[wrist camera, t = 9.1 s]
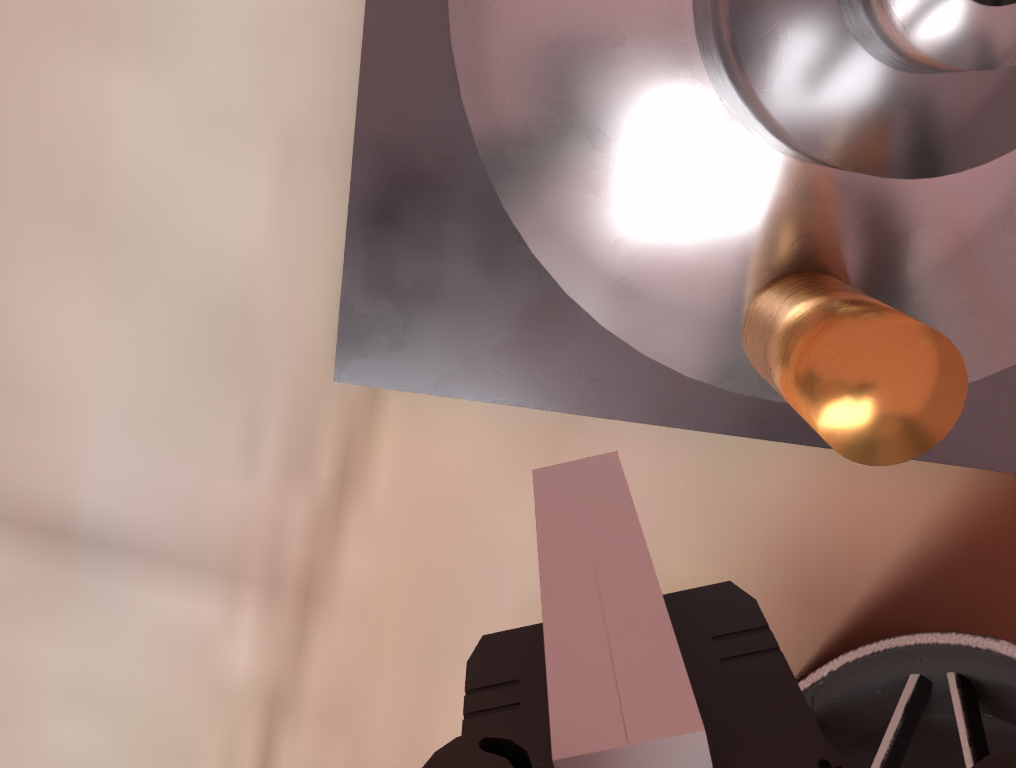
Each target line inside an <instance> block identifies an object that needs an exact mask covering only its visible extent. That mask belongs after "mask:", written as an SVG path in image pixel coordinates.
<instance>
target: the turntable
mask: <svg viewBox="0 0 1016 768" xmlns="http://www.w3.org/2000/svg"><path fill="white" fill-rule="evenodd" d="M448 6H449V22H450V37H451V45H452V50H453V55H454V61H455V66H456V71H457V77H458V82H459V87H460V93H461V98H462V102H463V105H464V108H465V112H466V115H467V118H468V121H469V124H470V127H471V130H472V134H473V137H474V140H475V143H476V146H477V149H478V152H479V155H480V158H481V160H482V162H483V164H484V167H485V169H486V171H487V173H488V175H489V177H490V180H491V182H492V184H493V186H494V188H495V190H496V192H497V195H498V197H499V199H500V201H501V203H502V205H503V207H504V209H505V211H506V212H507V214H508V215H509V217H510V219H511V220H512V222H513V223H514V225H515V226H516V228H517V230H518V231H519V233H520V234H521V236H522V237H523V239H524V241H525V242H526V244H527V245H528V247H529V248H530V250H531V252H532V253H533V254H534V256H535V257H536V258H537V259H538V260H539V261H540V263H541V264H542V265H543V266H544V267H545V269H546V270H547V271H548V272H549V273H550V275H551V276H552V277H553V278H554V279H555V281H556V282H557V283H558V284H559V285H560V287H561V288H562V289H563V290H564V291H565V292H566V293H567V294H568V295H569V296H570V297H571V298H572V299H573V300H574V301H575V302H576V303H578V304H579V305H580V306H581V307H582V308H583V309H584V310H585V311H586V312H587V313H589V314H590V315H591V316H592V317H593V318H594V319H595V320H596V321H597V322H598V323H599V324H601V325H602V326H603V327H604V328H606V329H607V330H609V331H610V332H611V333H613V334H614V335H616V336H617V337H619V338H620V339H622V340H623V341H625V342H626V343H627V344H629V345H630V346H632V347H633V348H635V349H636V350H638V351H639V352H640V353H642V354H643V355H645V356H647V357H649V358H651V359H653V360H655V361H657V362H659V363H661V364H663V365H665V366H667V367H669V368H671V369H673V370H675V371H677V372H679V373H681V374H683V375H685V376H687V377H690V378H693V379H696V380H698V381H701V382H704V383H707V384H710V385H713V386H716V387H719V388H722V389H724V390H727V391H730V392H733V393H738V394H743V395H748V396H753V397H758V398H763V399H768V400H773V401H777V402H786V403H789V404H790V406H791V407H792V408H793V409H794V410H795V411H796V412H797V413H798V414H799V415H800V416H801V417H802V418H803V419H804V420H805V421H806V422H807V423H808V424H809V425H810V426H811V427H812V428H813V429H814V430H815V431H816V432H817V433H818V434H819V435H820V436H821V437H822V438H823V439H824V440H825V441H826V442H827V443H828V444H829V445H830V446H831V447H832V448H833V449H834V450H835V451H836V452H837V453H839V454H840V455H842V456H843V457H845V458H847V459H849V460H851V461H854V462H857V463H860V464H865V465H871V466H888V465H894V464H899V463H903V462H906V461H909V460H911V459H914V458H916V457H918V456H920V455H922V454H924V453H926V452H927V451H929V450H930V449H931V448H933V447H934V446H936V445H937V444H938V443H939V442H940V441H941V440H942V439H943V438H944V437H945V436H946V435H947V434H948V433H949V432H950V430H951V429H952V428H953V426H954V425H955V423H956V422H957V420H958V418H959V417H960V415H961V412H962V410H963V408H964V404H965V401H966V397H967V391H968V383H970V382H973V381H977V380H979V379H982V378H984V377H987V376H989V375H991V374H994V373H996V372H999V371H1001V370H1003V369H1006V368H1008V367H1011V366H1013V365H1015V364H1016V149H1015V150H1014V151H1012V152H1010V153H1008V154H1006V155H1004V156H1002V157H999V158H997V159H995V160H993V161H991V162H989V163H987V164H984V165H981V166H978V167H975V168H972V169H969V170H966V171H963V172H960V173H955V174H951V175H946V176H941V177H936V178H925V179H911V180H906V179H890V178H880V177H875V176H870V175H865V174H860V173H855V172H850V171H844V170H839V169H834V168H829V167H824V166H819V165H814V164H809V163H805V162H802V161H799V160H797V159H794V158H791V157H788V156H785V155H784V154H782V153H780V152H778V151H776V150H774V149H772V148H771V147H769V146H767V145H765V144H764V143H763V142H761V141H760V140H759V139H757V138H756V137H755V136H753V135H752V134H751V133H749V132H748V131H747V130H746V129H745V128H744V127H743V126H742V125H741V124H740V123H739V122H738V121H737V120H736V119H735V118H734V117H733V115H732V114H731V113H730V111H729V110H728V109H727V107H726V106H725V105H724V103H723V102H722V101H721V99H720V97H719V96H718V94H717V92H716V90H715V88H714V87H713V85H712V83H711V81H710V79H709V77H708V74H707V72H706V69H705V66H704V64H703V61H702V59H701V55H700V51H699V47H698V43H697V39H696V35H695V28H694V19H693V11H692V0H448Z"/></svg>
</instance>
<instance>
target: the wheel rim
mask: <svg viewBox="0 0 1016 768" xmlns="http://www.w3.org/2000/svg"><path fill="white" fill-rule="evenodd" d="M798 685H799V687H800V689H801V691H802V693H803V695H804V697H805V699H806V701H807V703H808V705H809V707H810V709H811V711H812V713H813V715H814V717H815V719H816V721H817V723H818V725H819V727H820V729H821V731H822V733H823V735H824V736H825V738H826V739H827V741H828V742H829V744H830V745H831V747H832V748H833V749H834V750H835V751H836V752H838V753H840V754H841V755H843V756H844V757H845V759H846V760H847V761H848V762H849V763H851V764H852V765H854V766H856V767H857V768H971V767H972V766H974V765H975V764H976V763H978V762H979V761H981V760H982V759H983V758H985V757H986V756H989V755H994V754H998V753H1003V752H1007V751H1012V750H1016V644H1015V643H1012V642H1008V641H1005V640H1001V639H998V638H995V637H991V636H983V635H975V634H968V633H960V632H952V631H950V632H919V633H912V634H906V635H899V636H893V637H889V638H886V639H882V640H879V641H875V642H872V643H868V644H866V645H863V646H861V647H858V648H856V649H853V650H851V651H848V652H846V653H844V654H842V655H840V656H839V657H837V658H835V659H833V660H831V661H829V662H828V663H826V664H824V665H822V666H820V667H819V668H817V669H816V670H815V671H813V672H812V673H811V674H809V675H808V676H807V677H805V678H804V679H803V680H801V681H800V682H799V683H798Z"/></svg>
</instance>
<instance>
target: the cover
mask: <svg viewBox="0 0 1016 768" xmlns="http://www.w3.org/2000/svg"><path fill="white" fill-rule="evenodd" d="M692 11H693V19H694V28H695V35H696V39H697V43H698V47H699V51H700V55H701V59H702V61H703V64H704V66H705V69H706V72H707V74H708V77H709V79H710V81H711V83H712V85H713V87H714V88H715V90H716V92H717V94H718V96H719V97H720V99H721V101H722V102H723V103H724V105H725V106H726V107H727V109H728V110H729V111H730V113H731V114H732V115H733V117H734V118H735V119H736V120H737V121H738V122H739V123H740V124H741V125H742V126H743V127H744V128H745V129H746V130H747V131H748V132H749V133H751V134H752V135H753V136H755V137H756V138H757V139H759V140H760V141H761V142H763V143H764V144H765V145H767V146H769V147H771V148H772V149H774V150H776V151H778V152H780V153H782V154H784V155H785V156H788V157H791V158H794V159H797V160H799V161H802V162H805V163H809V164H814V165H819V166H824V167H829V168H834V169H839V170H844V171H850V172H855V173H860V174H865V175H870V176H875V177H880V178H890V179H906V180H911V179H925V178H936V177H941V176H946V175H951V174H955V173H960V172H963V171H966V170H969V169H972V168H975V167H978V166H981V165H984V164H987V163H989V162H991V161H993V160H995V159H997V158H999V157H1002V156H1004V155H1006V154H1008V153H1010V152H1012V151H1014V150H1015V149H1016V0H692Z"/></svg>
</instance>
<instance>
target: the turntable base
mask: <svg viewBox="0 0 1016 768" xmlns="http://www.w3.org/2000/svg"><path fill="white" fill-rule="evenodd" d="M334 382H338V383H346V384H353V385H360V386H368V387H375V388H383V389H390V390H398V391H405V392H412V393H420V394H427V395H435V396H442V397H450V398H457V399H464V400H472V401H479V402H487V403H494V404H502V405H509V406H516V407H524V408H531V409H539V410H546V411H554V412H561V413H568V414H576V415H583V416H591V417H598V418H606V419H613V420H620V421H628V422H635V423H643V424H650V425H658V426H665V427H672V428H680V429H687V430H695V431H702V432H710V433H717V434H724V435H732V436H739V437H747V438H754V439H762V440H769V441H776V442H784V443H791V444H799V445H806V446H814V447H821V448H828V449H833V448H832V447H831V446H830V445H829V444H828V443H827V442H826V441H825V440H824V439H823V438H822V437H821V436H820V435H819V434H818V433H817V432H816V431H815V430H814V429H813V428H812V427H811V426H810V425H809V424H808V423H807V422H806V421H805V420H804V419H803V418H802V417H801V416H800V415H799V414H798V413H797V412H796V411H795V410H794V409H793V408H792V407H791V406H790V404H789V403H786V402H777V401H773V400H768V399H763V398H758V397H753V396H748V395H743V394H738V393H733V392H730V391H727V390H724V389H722V388H719V387H716V386H713V385H710V384H707V383H704V382H701V381H698V380H696V379H693V378H690V377H687V376H685V375H683V374H681V373H679V372H677V371H675V370H673V369H671V368H669V367H667V366H665V365H663V364H661V363H659V362H657V361H655V360H653V359H651V358H649V357H647V356H645V355H643V354H642V353H640V352H639V351H638V350H636V349H635V348H633V347H632V346H630V345H629V344H627V343H626V342H625V341H623V340H622V339H620V338H619V337H617V336H616V335H614V334H613V333H611V332H610V331H609V330H607V329H606V328H604V327H603V326H602V325H601V324H599V323H598V322H597V321H596V320H595V319H594V318H593V317H592V316H591V315H590V314H589V313H587V312H586V311H585V310H584V309H583V308H582V307H581V306H580V305H579V304H578V303H576V302H575V301H574V300H573V299H572V298H571V297H570V296H569V295H568V294H567V293H566V292H565V291H564V290H563V289H562V288H561V287H560V285H559V284H558V283H557V282H556V281H555V279H554V278H553V277H552V276H551V275H550V273H549V272H548V271H547V270H546V269H545V267H544V266H543V265H542V264H541V263H540V261H539V260H538V259H537V258H536V257H535V256H534V254H533V253H532V252H531V250H530V248H529V247H528V245H527V244H526V242H525V241H524V239H523V237H522V236H521V234H520V233H519V231H518V230H517V228H516V226H515V225H514V223H513V222H512V220H511V219H510V217H509V215H508V214H507V212H506V211H505V209H504V207H503V205H502V203H501V201H500V199H499V197H498V195H497V192H496V190H495V188H494V186H493V184H492V182H491V180H490V177H489V175H488V173H487V171H486V169H485V167H484V164H483V162H482V160H481V158H480V155H479V152H478V149H477V146H476V143H475V140H474V137H473V134H472V130H471V127H470V124H469V121H468V118H467V115H466V112H465V108H464V105H463V102H462V98H461V93H460V87H459V82H458V77H457V71H456V66H455V61H454V55H453V50H452V45H451V37H450V22H449V6H448V0H366V5H365V16H364V28H363V40H362V52H361V64H360V75H359V87H358V99H357V111H356V123H355V135H354V146H353V158H352V170H351V182H350V194H349V206H348V217H347V229H346V241H345V253H344V265H343V277H342V288H341V300H340V312H339V324H338V336H337V348H336V359H335V371H334ZM911 460H918V461H925V462H932V463H940V464H947V465H955V466H962V467H970V468H977V469H984V470H992V471H999V472H1007V473H1014V474H1016V364H1015V365H1013V366H1011V367H1008V368H1006V369H1003V370H1001V371H999V372H996V373H994V374H991V375H989V376H987V377H984V378H982V379H979V380H977V381H973V382H970V383H968V391H967V397H966V401H965V404H964V408H963V410H962V412H961V415H960V417H959V418H958V420H957V422H956V423H955V425H954V426H953V428H952V429H951V430H950V432H949V433H948V434H947V435H946V436H945V437H944V438H943V439H942V440H941V441H940V442H939V443H938V444H937V445H936V446H934V447H933V448H931V449H930V450H929V451H927V452H926V453H924V454H922V455H920V456H918V457H916V458H914V459H911Z"/></svg>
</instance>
